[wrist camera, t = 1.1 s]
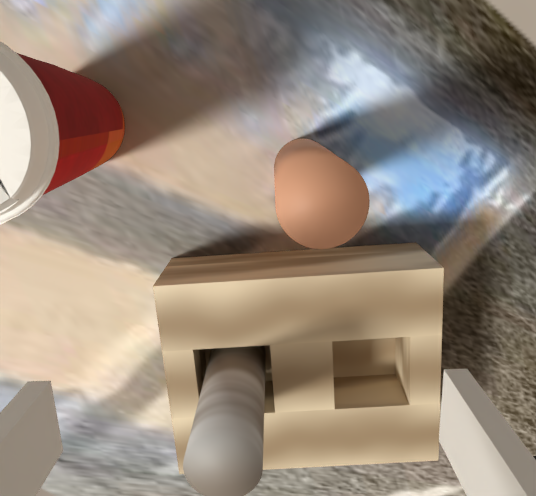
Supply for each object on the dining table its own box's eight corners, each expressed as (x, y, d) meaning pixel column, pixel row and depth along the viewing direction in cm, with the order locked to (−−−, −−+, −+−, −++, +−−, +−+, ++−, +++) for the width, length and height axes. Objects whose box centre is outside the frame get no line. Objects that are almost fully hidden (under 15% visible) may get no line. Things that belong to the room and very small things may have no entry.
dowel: (272, 140, 34) (272, 160, 20) (330, 136, 34) (368, 153, 20) (276, 197, 35) (278, 252, 21) (332, 193, 35) (369, 246, 21)
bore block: (171, 258, 36) (112, 345, 23) (416, 242, 36) (503, 322, 22) (192, 421, 40) (152, 579, 26) (414, 409, 39) (487, 564, 26)
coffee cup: (21, 52, 32) (-182, 4, 18) (144, 67, 33) (43, 32, 18) (23, 177, 35) (-155, 225, 20) (139, 191, 35) (44, 248, 20)
